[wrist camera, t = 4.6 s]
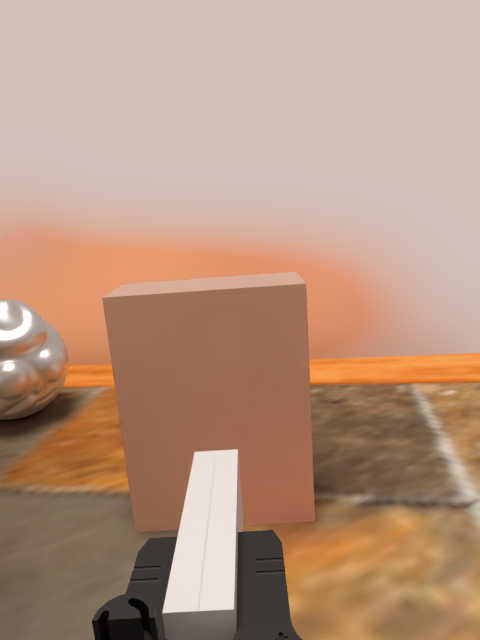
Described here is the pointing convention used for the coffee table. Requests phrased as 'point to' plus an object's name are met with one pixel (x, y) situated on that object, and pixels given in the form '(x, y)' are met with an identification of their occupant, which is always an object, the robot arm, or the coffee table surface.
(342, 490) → the coffee table surface
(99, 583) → the coffee table surface
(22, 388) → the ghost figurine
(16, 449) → the coffee table surface
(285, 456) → the peach rectangular block
